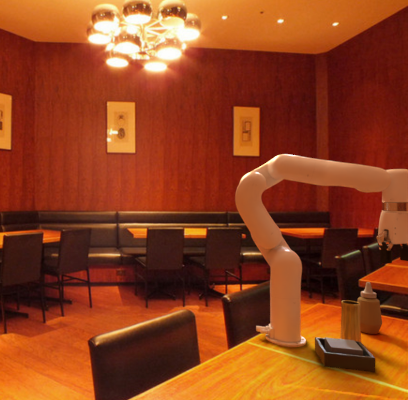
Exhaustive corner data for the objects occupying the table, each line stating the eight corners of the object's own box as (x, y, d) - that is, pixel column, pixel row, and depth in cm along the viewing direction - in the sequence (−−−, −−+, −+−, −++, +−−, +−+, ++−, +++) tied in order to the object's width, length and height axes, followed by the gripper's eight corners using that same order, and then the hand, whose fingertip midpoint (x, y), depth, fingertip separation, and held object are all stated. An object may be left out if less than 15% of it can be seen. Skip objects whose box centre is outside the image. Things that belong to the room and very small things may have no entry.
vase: (366, 348, 122) (365, 304, 122) (347, 348, 122) (346, 305, 122) (354, 341, 128) (353, 299, 128) (335, 341, 128) (335, 299, 128)
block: (331, 364, 110) (331, 347, 110) (324, 353, 117) (324, 337, 117) (363, 367, 107) (363, 350, 107) (354, 356, 115) (354, 340, 115)
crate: (324, 368, 108) (324, 352, 108) (314, 351, 120) (314, 337, 120) (375, 374, 104) (375, 358, 104) (360, 355, 116) (360, 341, 116)
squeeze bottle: (383, 337, 131) (383, 285, 131) (355, 333, 136) (355, 283, 136) (381, 330, 138) (381, 281, 138) (355, 326, 143) (354, 279, 142)
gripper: (400, 207, 126) (400, 258, 127) (366, 208, 120) (365, 261, 120) (426, 208, 119) (426, 261, 120) (391, 208, 113) (391, 265, 113)
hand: (396, 261), depth 120 cm, fingers open, 9 cm apart
